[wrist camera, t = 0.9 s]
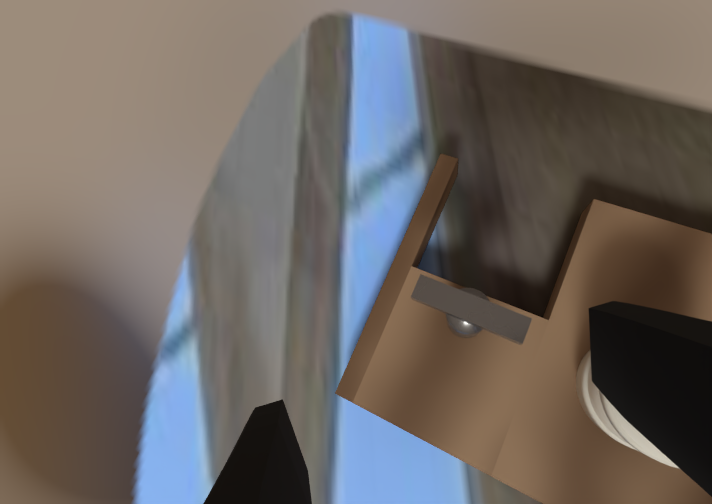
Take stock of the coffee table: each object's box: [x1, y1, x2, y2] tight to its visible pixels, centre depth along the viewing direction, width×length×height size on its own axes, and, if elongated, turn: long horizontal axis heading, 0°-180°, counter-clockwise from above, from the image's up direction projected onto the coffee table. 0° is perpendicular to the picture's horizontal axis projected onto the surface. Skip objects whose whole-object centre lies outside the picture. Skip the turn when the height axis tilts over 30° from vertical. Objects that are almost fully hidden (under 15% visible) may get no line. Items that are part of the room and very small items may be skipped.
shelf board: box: [335, 154, 712, 504], centre depth 20 cm, size 16×14×2 cm
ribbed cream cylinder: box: [576, 350, 680, 469], centre depth 15 cm, size 5×5×5 cm
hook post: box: [411, 274, 532, 345], centre depth 18 cm, size 4×2×5 cm, turn 66°
